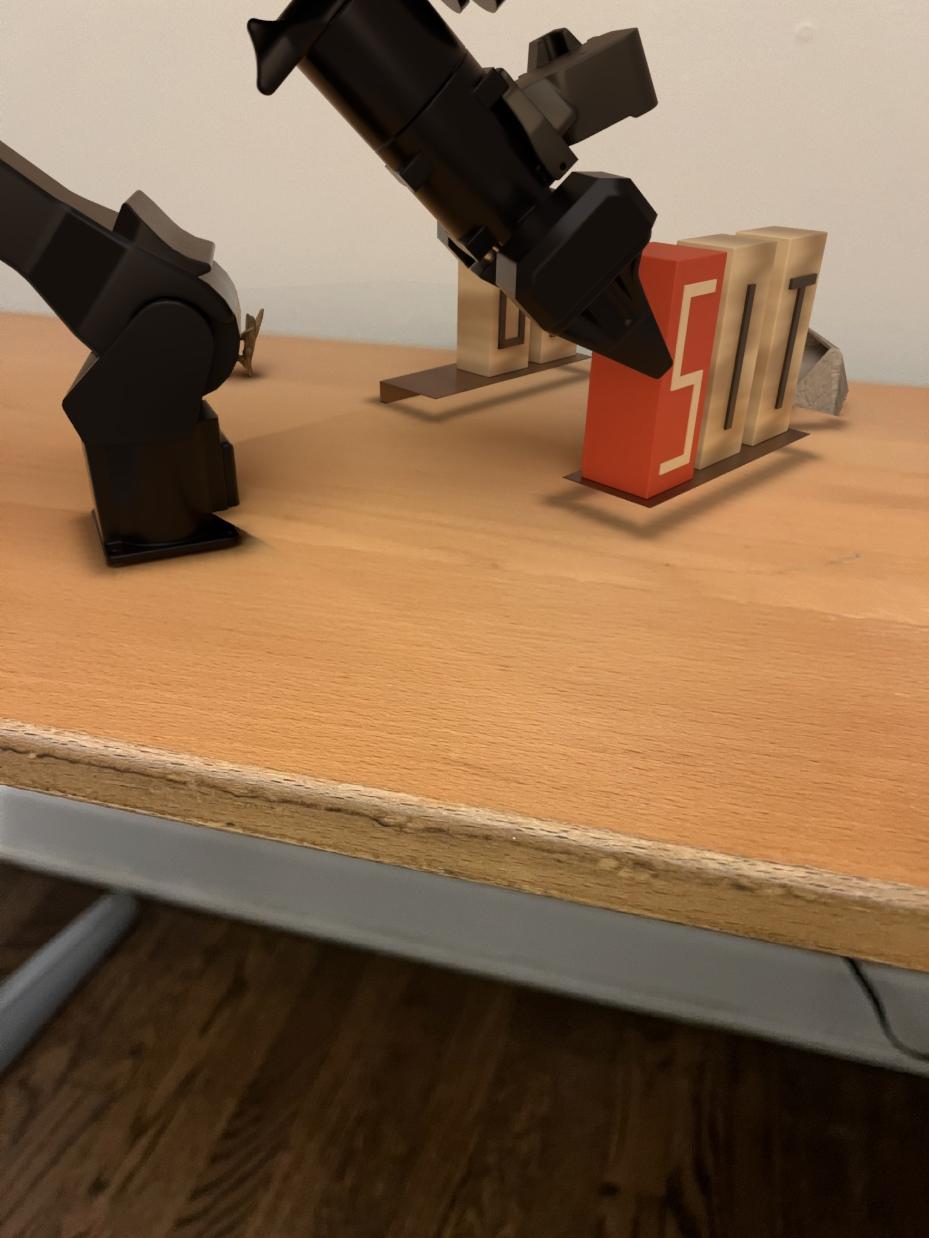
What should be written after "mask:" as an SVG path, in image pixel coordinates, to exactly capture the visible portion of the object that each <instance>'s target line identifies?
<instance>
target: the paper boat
mask: <svg viewBox="0 0 929 1238" xmlns="http://www.w3.org/2000/svg"><path fill="white" fill-rule="evenodd" d="M848 393H849V384H848V377H847V372H846V366H845V361H844V355H843V353H842V351H841V349H840V347H838V346H837V345H835V344H834V343H833V342H831V341H829V340H828V339H826V338H825V337H823V336H822V335H821V334H819V333H818V332H816V331H815V330H814V329H812V328H811V327H810V326H809V327H808V332H807V337H806V342H805V347H804V351H803V356H802V361H801V366H800V371H799V376H798V381H797V386H796V391H795V395H794V400H793V405H792V407H798V408H801V409H805V410H809V411H814V412H817V413H822V414H826V415H830V416H834V417H839V416H840V413H841V410H842V408H843V406H844V403H845V400H846V398H847V396H848Z"/></svg>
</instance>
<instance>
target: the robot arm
mask: <svg viewBox="0 0 929 1238" xmlns="http://www.w3.org/2000/svg"><path fill="white" fill-rule="evenodd" d="M440 1H441V2H442V3H443V4H444V5H445V6H446V7H447V8H448V9H450V11H452V12H454V13H456V14H459V15H460V14H461V13H463V11H464V10H465V9H466V8H467V7H468V6H469V4H470V2H471V1H472V2H473V3H475V4H476V5H477V6H478V7H480V8H481V9H482V10H484V11H486V12H488V13H490V14H495V13H497V12H498V10H499V9H500V8H501V7H502V6H503V5H504V4H505V2H506V1H507V0H440ZM246 32H247V34H248V37H249V40H250V42H251V46H252V49H253V52H254V58H255V67H256V71H255V72H256V73H255V74H256V75H255V77H256V78H255V87H256V89H257V91H258V93H260V94H261V95H263V96H267V97H270V96H272V95H274V94H275V93H276V91H277V90H278V89H279V88H280V87H281V86H282V84H283V83H284V82H285V81H286V80H287V78H288V77H289V76H290V75H291V73H292V72H293V71H294V69H295V68H296V69H298V70H299V71H300V72H301V73H302V75H304V77H306V79H307V80H308V81H309V82H310V83H311V84H312V86H313V87H314V88H316V90H317V91H318V92H319V93H320V94H321V95H322V96H323V98H325V99H326V100H327V102H328V103H329V104H330V105H331V106H332V107H333V108H334V109H335V110H336V111H337V113H338V114H339V115H340V116H341V117H342V118H343V119H344V120H345V122H346V123H348V125H349V126H350V127H351V128H352V129H353V130H354V131H355V133H356V134H357V135H358V136H359V137H360V138H361V139H362V140H363V141H364V142H365V144H367V145H368V147H369V148H370V149H371V150H372V151H374V153H375V154H376V155H377V156H378V157H379V158H380V160H381V161H382V162H383V163H384V164H385V165H384V168H385V169H386V170H387V171H388V172H389V173H390V174H391V176H393V177H394V178H395V180H396V181H397V182H398V183H399V184H400V185H402V186H404V187H406V188H407V189H408V190H409V192H411V194H413V196H414V197H415V198H416V199H417V200H418V201H419V202H420V203H421V205H422V206H423V207H424V208H425V209H426V210H427V211H428V212H429V214H430V215H431V216H432V217H433V218H434V219H435V220H436V238H437V239H438V241H440V242H441V244H442V245H443V246H444V247H445V248H446V249H447V250H448V251H449V252H450V253H451V254H452V255H453V257H454V258H455V259H456V260H457V262H458V261H459V262H460V263H462V264H463V265H464V266H465V267H466V268H468V269H469V268H470V270H471V271H472V272H473V273H474V274H475V275H477V276H478V277H479V278H480V279H482V280H484V281H486V282H488V283H490V284H492V285H494V286H496V287H498V288H500V289H501V290H502V291H503V292H504V293H505V295H506V296H507V297H508V298H509V299H510V300H511V301H512V302H513V303H514V304H515V305H516V306H517V307H518V308H519V309H520V310H521V311H522V312H523V313H524V314H525V315H526V316H527V317H528V318H529V319H530V320H531V321H532V322H534V323H535V324H536V325H537V326H538V327H540V328H541V329H542V330H543V331H545V332H547V333H549V334H551V335H553V336H558V337H560V338H562V339H565V340H567V341H569V342H572V343H574V344H576V345H577V346H579V347H581V348H583V349H586V350H588V351H590V352H592V351H593V352H595V353H597V354H600V355H602V356H604V357H607V358H609V359H611V360H614V361H616V362H618V363H620V364H622V365H625V366H627V367H629V368H631V369H634V370H636V371H638V372H640V373H643V374H645V375H647V376H649V377H652V378H654V379H660V378H661V377H662V376H663V375H664V374H665V373H666V372H667V371H668V370H669V369H670V368H671V367H672V366H673V360H672V357H671V355H670V352H669V350H668V348H667V345H666V343H665V340H664V338H663V336H662V333H661V331H660V328H659V326H658V324H657V321H656V319H655V317H654V314H653V312H652V310H651V307H650V305H649V302H648V300H647V297H646V294H645V292H644V289H643V286H642V284H641V281H640V278H639V266H640V261H641V257H642V252H643V249H644V248H645V247H646V246H647V244H648V243H649V242H651V239H652V236H653V235H652V234H653V228H654V226H655V223H656V221H657V218H658V215H659V214H658V212H657V211H656V210H655V208H653V206H652V205H651V203H650V202H649V201H648V199H647V198H646V196H644V194H643V193H642V192H641V190H640V189H639V187H638V186H637V185H636V184H635V182H634V181H633V180H632V178H631V177H626V176H623V175H618V174H614V173H610V172H606V171H599V170H597V171H595V170H593V171H591V170H590V171H589V170H587V171H585V170H584V171H582V170H581V171H580V170H578V171H577V170H575V171H574V170H573V171H571V172H570V173H569V174H568V175H567V176H566V177H565V178H564V179H563V180H562V178H563V177H564V176H565V175H566V174H567V173H568V172H569V171H570V170H571V169H572V168H573V166H574V165H576V164H577V162H578V161H579V158H578V156H577V155H576V154H575V152H574V151H573V150H572V149H571V148H570V147H571V146H574V145H576V144H579V143H581V142H583V141H585V140H587V139H589V138H591V137H593V136H595V135H597V134H599V133H600V132H602V131H604V130H607V129H608V128H611V127H613V126H614V125H616V124H618V123H620V122H622V121H624V120H626V119H628V118H629V117H632V118H634V119H638V118H640V117H641V116H644V115H645V114H647V113H649V112H650V111H653V110H654V109H655V108H656V107H657V106H658V104H659V100H658V95H657V92H656V89H655V86H654V82H653V78H652V74H651V71H650V68H649V67H650V66H649V63H648V60H647V56H646V53H645V49H644V45H643V41H642V38H641V35H640V31H639V28H638V27H628V28H622V29H615V30H611V31H608V32H605V33H603V34H600V35H594V36H592V37H590V38H588V39H586V42H584V43H582V42H581V41H580V40H579V39H578V38H577V37H576V35H575V34H574V33H572V31H570V29H569V28H567V27H565V26H564V27H559V28H554V29H552V30H550V31H548V32H547V33H545V34H542V35H541V36H539V37H537V38H535V39H533V40H531V41H530V42H529V43H528V51H527V66H526V72H523V73H522V74H520V75H518V76H517V79H515V80H514V79H513V77H512V76H511V75H510V73H509V72H508V71H507V70H506V69H505V68H504V67H496V68H495V67H494V66H488V67H487V66H486V67H482V65H481V64H480V63H479V61H477V59H476V58H475V57H474V55H473V54H472V53H471V52H470V50H469V49H468V48H467V47H466V45H465V44H464V42H463V41H462V40H461V39H460V38H459V37H458V35H457V34H456V32H455V31H454V30H453V29H452V27H450V26H449V24H448V22H447V21H446V20H445V19H444V18H443V17H442V15H441V14H440V12H438V10H437V9H436V8H435V6H434V5H433V4H432V3H431V1H430V0H291V1H290V2H289V3H288V4H287V5H286V7H285V8H284V9H283V10H282V12H281V13H280V14H279V15H278V16H277V18H276V19H275V20H267V19H260V18H258V17H257V18H256V17H251V18H248V20H247V22H246ZM560 180H562V181H561V183H560V184H559V185H558V186H557V187H556V188H554V187H551V186H552V185H553V184H554V183H555V182H556V181H560ZM215 251H216V243H215V242H214V241H212V240H209V239H205V238H202V237H198V236H196V235H194V234H192V233H190V232H188V231H186V230H185V229H183V228H182V227H180V225H178V224H177V223H176V222H175V221H174V220H172V218H170V217H169V215H167V213H166V212H165V211H164V210H163V209H162V208H161V207H160V206H159V205H157V203H156V202H155V201H154V200H153V199H152V198H150V197H149V196H148V195H147V194H146V193H145V192H144V191H142V189H141V190H140V189H137V190H135V191H134V192H133V193H132V194H131V195H130V196H129V197H128V198H127V199H125V201H124V202H123V203H122V204H121V206H120V208H119V211H117V210H115V209H112V208H109V207H107V206H105V205H102V204H100V203H98V202H95V201H93V200H91V199H88V198H86V197H84V196H81V195H79V194H77V193H75V192H74V191H72V190H70V189H69V188H68V187H66V186H65V185H63V184H62V183H60V182H59V181H57V180H56V179H55V178H53V177H52V176H51V175H49V174H48V173H47V172H45V171H44V170H42V169H41V168H40V167H38V166H37V165H35V164H34V163H33V162H32V161H29V160H28V159H27V157H26V158H25V156H23V155H22V154H20V153H19V152H17V151H16V150H14V149H13V148H12V147H10V146H9V145H8V144H7V143H5V142H4V141H2V140H0V262H1V263H3V264H5V265H6V266H8V267H9V268H11V269H12V270H14V271H15V272H16V273H17V274H19V275H20V276H21V277H22V279H24V280H25V281H26V282H27V283H28V284H29V285H30V286H31V287H32V288H33V290H34V292H36V293H37V294H38V296H39V297H40V298H41V299H42V300H43V301H44V302H45V304H47V306H48V307H49V308H50V309H51V311H52V312H53V313H54V314H55V315H56V317H58V318H59V320H60V321H61V322H62V324H64V325H65V326H66V328H67V329H68V330H69V331H70V332H71V334H73V336H74V337H75V338H76V339H77V340H78V341H80V342H81V343H82V344H83V345H84V346H86V347H87V349H89V350H90V352H89V354H88V356H87V357H86V359H85V361H84V362H83V364H82V366H81V368H80V369H79V371H78V372H77V375H76V376H75V378H74V379H73V382H72V383H71V385H70V387H69V388H68V390H67V392H66V393H65V396H64V397H63V399H62V401H61V408H62V410H63V412H64V413H65V416H66V417H67V419H68V421H69V422H70V423H71V425H72V427H73V429H74V430H75V432H76V433H77V435H78V437H79V438H80V443H81V447H82V448H81V449H82V453H83V458H84V463H85V468H86V473H87V479H88V483H89V488H90V489H89V490H90V494H91V499H92V505H93V509H91V511H90V512H91V519H92V521H93V525H94V529H95V532H96V535H97V539H98V542H99V546H100V549H101V553H102V556H103V560H104V562H105V563H106V564H107V565H113V566H114V565H121V564H129V563H134V562H138V561H139V562H140V561H145V560H153V559H157V558H164V557H170V556H175V555H183V554H188V553H193V552H199V551H200V552H201V551H205V550H212V549H217V548H218V549H219V548H223V547H229V546H235V545H238V544H240V542H241V536H240V531H239V530H238V527H237V526H236V525H235V524H233V523H232V522H229V521H227V520H226V519H224V518H222V517H220V516H218V515H217V514H214V513H217V512H223V511H228V510H229V509H230V508H234V507H238V506H239V505H241V503H240V494H239V486H238V485H239V484H238V477H237V468H236V457H235V449H234V445H233V443H232V442H231V440H230V439H229V438H228V436H227V435H226V433H225V432H224V430H222V429H221V428H220V419H219V415H218V414H217V413H216V411H215V409H213V407H212V406H211V404H210V403H209V402H208V401H207V399H203V397H205V396H207V395H209V394H211V393H213V392H215V391H218V389H219V388H220V387H221V386H222V385H223V384H224V383H225V382H226V381H227V380H228V379H229V378H230V377H231V376H232V373H233V371H234V369H235V367H236V365H237V363H238V358H239V355H240V350H241V349H240V348H241V341H242V340H241V334H242V308H241V304H240V298H239V294H238V290H237V289H236V285H235V283H234V282H233V280H232V278H231V277H230V275H229V274H228V272H227V271H226V270H225V269H224V268H223V267H222V266H221V265H220V264H219V262H217V261H216V260H215V259H214V258H215ZM240 340H241V341H240Z"/></svg>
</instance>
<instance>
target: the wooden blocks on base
mask: <svg viewBox="0 0 929 1238" xmlns="http://www.w3.org/2000/svg"><path fill="white" fill-rule="evenodd" d="M456 307H457V309H456V310H457V312H456V313H457V315H456V317H457V318H456V362H454V363H450V364H445V365H442V366H437V367H433V368H428V369H425V370H421V371H415V372H412V373H411V372H410V373H408V374H404V375H403V374H402V375H400V376H395V377H391V378H387V379H382V380H379V401H380V402H383V403H386V404H391V403H395V402H399V401H403V400H406V399H410V398H414V397H418V396H423V397H427V398H429V399H433V400H438V399H442V398H446V397H450V396H453V395H458V394H460V393H465V392H469V391H472V390H477V389H480V388H483V387H487V386H491V385H495V384H499V383H503V382H505V381H510V380H514V379H517V378H521V377H525V376H529V375H532V374H536V373H540V372H543V371H544V372H545V371H548V370H551V369H556V368H559V367H563V366H567V365H570V364H573V363H578V362H581V361H585V360H588V359H592V355H588V354H584V353H581V352H577V348H578V347H577V346H578V345H576V344H574V343H572V342H569V341H567V340H565V339H562V338H560V337H558V336H553V335H551V334H549V333H547V332H545V331H543V330H542V329H541V328H540V327H538V326H537V325H536V324H535V323H534V322H532V321H531V320H530V319H529V318H528V317H527V316H526V315H525V314H524V313H523V312H522V311H521V310H520V309H519V308H518V307H517V306H516V305H515V304H514V303H513V302H512V301H511V300H510V299H509V298H508V297H507V296H506V295H505V293H504V292H503V291H502V290H501V289H500V288H498V287H496V286H494V285H492V284H490V283H488V282H486V281H484V280H482V279H480V278H479V277H478V276H477V275H475V274H474V273H473V272H472V271H471V270H470V268H469V269H468V268H466V267H465V266H464V265H463V264H462V263H460V262H459V261H458V260H457V306H456Z"/></svg>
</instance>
